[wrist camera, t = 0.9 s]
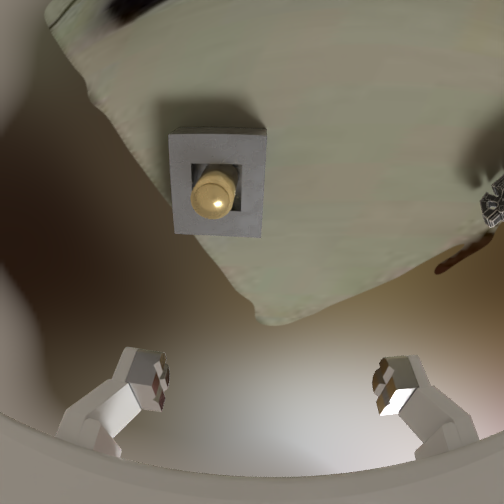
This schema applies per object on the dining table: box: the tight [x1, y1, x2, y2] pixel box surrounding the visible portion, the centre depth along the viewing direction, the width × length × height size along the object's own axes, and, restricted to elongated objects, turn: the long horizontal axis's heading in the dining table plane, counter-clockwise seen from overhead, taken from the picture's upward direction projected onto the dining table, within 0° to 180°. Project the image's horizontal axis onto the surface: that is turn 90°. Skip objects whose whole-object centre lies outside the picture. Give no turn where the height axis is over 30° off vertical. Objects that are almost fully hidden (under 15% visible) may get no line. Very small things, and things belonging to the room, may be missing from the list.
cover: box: [190, 164, 238, 219], centre depth 38 cm, size 5×5×9 cm
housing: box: [168, 127, 267, 238], centre depth 40 cm, size 14×12×5 cm
